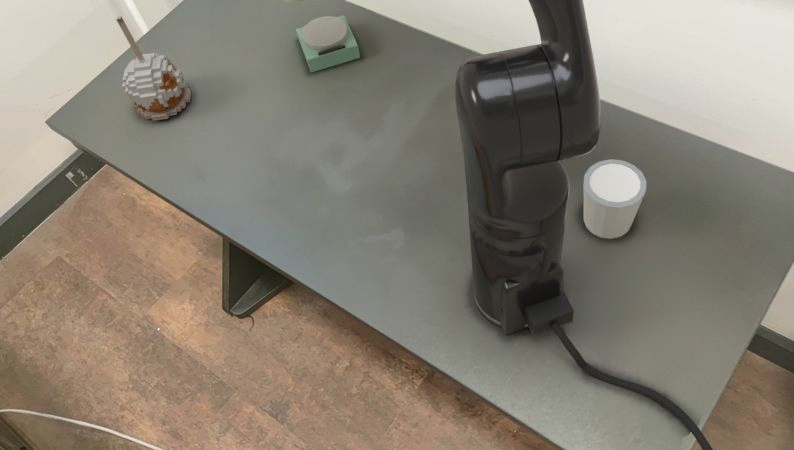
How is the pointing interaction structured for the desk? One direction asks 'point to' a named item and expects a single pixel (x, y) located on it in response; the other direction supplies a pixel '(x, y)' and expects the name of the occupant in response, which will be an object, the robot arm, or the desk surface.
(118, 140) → the desk surface
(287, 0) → the cup
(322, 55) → the scale
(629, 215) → the white cylinder
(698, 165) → the desk surface
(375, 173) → the desk surface
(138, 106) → the voxel caramel apple
